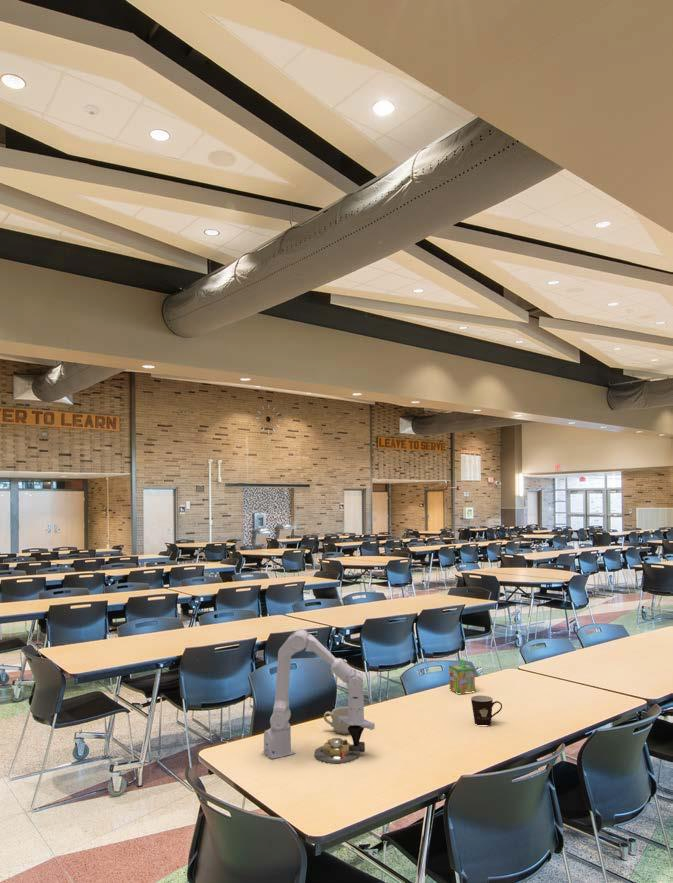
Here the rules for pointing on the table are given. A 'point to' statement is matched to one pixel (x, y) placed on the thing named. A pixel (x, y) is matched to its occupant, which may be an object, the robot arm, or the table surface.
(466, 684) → the green patterned box
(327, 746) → the gold handled ring
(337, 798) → the table surface
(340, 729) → the teacup
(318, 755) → the cap plate
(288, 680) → the robot arm
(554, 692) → the table surface
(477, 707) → the coffee mug
